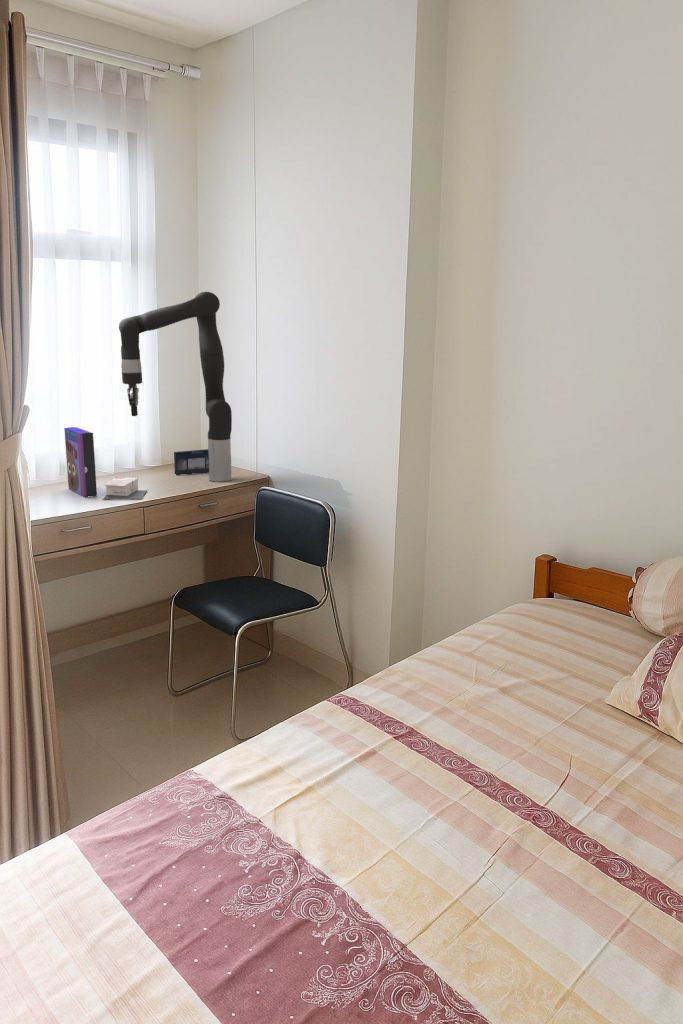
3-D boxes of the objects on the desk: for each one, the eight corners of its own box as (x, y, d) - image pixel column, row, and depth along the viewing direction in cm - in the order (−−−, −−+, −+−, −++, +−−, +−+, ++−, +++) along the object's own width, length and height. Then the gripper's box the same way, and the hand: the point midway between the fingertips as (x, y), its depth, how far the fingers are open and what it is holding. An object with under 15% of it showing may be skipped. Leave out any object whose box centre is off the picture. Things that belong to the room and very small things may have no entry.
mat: (147, 491, 301) (146, 490, 301) (141, 499, 287) (141, 498, 287) (109, 491, 299) (109, 490, 299) (102, 500, 286) (102, 498, 286)
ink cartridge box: (117, 489, 302) (102, 497, 288) (116, 476, 301) (101, 483, 287) (138, 490, 301) (125, 498, 287) (138, 477, 300) (124, 484, 286)
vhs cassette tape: (176, 475, 330) (175, 452, 328) (174, 474, 333) (173, 451, 330) (217, 472, 339) (216, 449, 337) (214, 471, 342) (214, 448, 339)
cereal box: (68, 488, 302) (64, 427, 296) (80, 487, 305) (76, 426, 299) (84, 497, 289) (80, 433, 283) (97, 495, 292) (93, 432, 286)
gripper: (139, 372, 296) (142, 418, 300) (143, 369, 308) (146, 413, 313) (119, 372, 295) (122, 418, 299) (124, 370, 307) (127, 413, 312)
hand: (134, 415), depth 306 cm, fingers closed
